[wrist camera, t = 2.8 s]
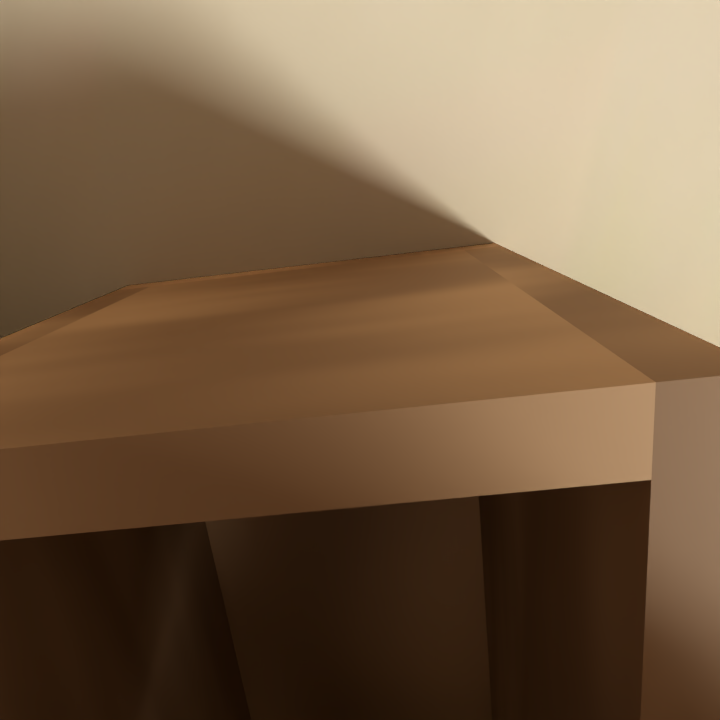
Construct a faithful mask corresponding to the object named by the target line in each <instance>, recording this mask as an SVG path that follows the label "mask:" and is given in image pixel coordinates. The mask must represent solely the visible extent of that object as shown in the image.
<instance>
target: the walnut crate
mask: <svg viewBox="0 0 720 720" xmlns="http://www.w3.org/2000/svg"><path fill="white" fill-rule="evenodd" d="M0 720H720V347H717V346H715V345H713V344H711V343H709V342H707V341H705V340H702V339H700V338H698V337H696V336H694V335H692V334H689V333H687V332H685V331H683V330H681V329H679V328H677V327H674V326H672V325H670V324H668V323H666V322H664V321H661V320H659V319H657V318H655V317H653V316H651V315H649V314H646V313H644V312H642V311H640V310H638V309H636V308H633V307H631V306H629V305H627V304H625V303H623V302H621V301H618V300H616V299H614V298H612V297H610V296H608V295H605V294H603V293H601V292H599V291H597V290H595V289H592V288H590V287H588V286H586V285H584V284H582V283H580V282H577V281H575V280H573V279H571V278H569V277H567V276H564V275H562V274H560V273H558V272H556V271H554V270H552V269H549V268H547V267H545V266H543V265H541V264H539V263H536V262H534V261H532V260H530V259H528V258H526V257H524V256H521V255H519V254H517V253H515V252H513V251H511V250H508V249H506V248H504V247H502V246H500V245H498V244H496V243H490V244H481V245H473V246H464V247H455V248H447V249H438V250H430V251H421V252H412V253H404V254H395V255H387V256H378V257H369V258H361V259H352V260H344V261H335V262H326V263H318V264H309V265H300V266H292V267H283V268H275V269H266V270H257V271H249V272H240V273H232V274H223V275H214V276H206V277H197V278H189V279H180V280H171V281H163V282H154V283H145V284H137V285H128V286H126V287H123V288H121V289H118V290H116V291H114V292H111V293H109V294H106V295H104V296H102V297H99V298H97V299H94V300H92V301H89V302H87V303H85V304H82V305H80V306H77V307H75V308H73V309H70V310H68V311H65V312H63V313H61V314H58V315H56V316H53V317H51V318H49V319H46V320H44V321H41V322H39V323H37V324H34V325H32V326H29V327H27V328H25V329H22V330H20V331H17V332H15V333H13V334H10V335H8V336H5V337H3V338H1V339H0Z"/></svg>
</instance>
